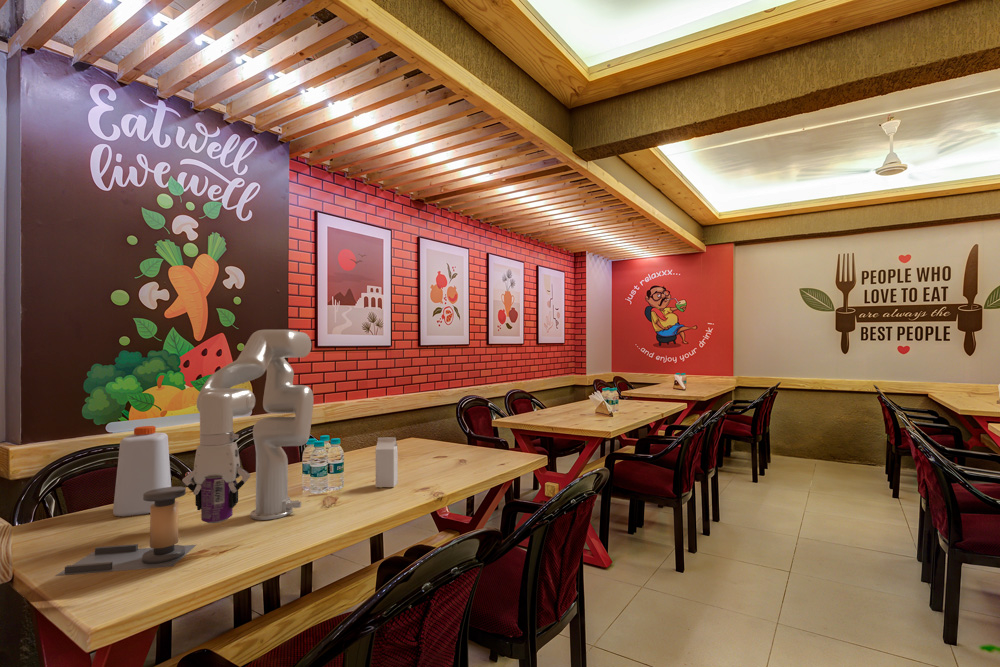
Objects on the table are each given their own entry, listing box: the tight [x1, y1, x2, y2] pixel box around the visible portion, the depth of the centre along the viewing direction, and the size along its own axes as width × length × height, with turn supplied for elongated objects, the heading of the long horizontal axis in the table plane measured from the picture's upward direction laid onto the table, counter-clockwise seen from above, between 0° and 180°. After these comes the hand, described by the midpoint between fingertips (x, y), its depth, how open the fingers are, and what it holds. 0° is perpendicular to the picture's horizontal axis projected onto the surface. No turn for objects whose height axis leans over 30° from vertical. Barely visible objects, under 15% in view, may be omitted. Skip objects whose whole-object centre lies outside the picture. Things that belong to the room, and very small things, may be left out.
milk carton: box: [375, 436, 399, 488], centre depth 197 cm, size 7×7×19 cm
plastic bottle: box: [112, 425, 172, 517], centre depth 170 cm, size 15×15×28 cm
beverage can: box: [200, 476, 234, 524], centre depth 130 cm, size 7×7×12 cm
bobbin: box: [142, 486, 187, 564], centre depth 127 cm, size 9×9×16 cm
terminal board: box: [54, 543, 197, 577], centre depth 125 cm, size 25×14×3 cm, turn 100°
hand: (217, 506), depth 130 cm, fingers closed on beverage can, 7 cm apart
